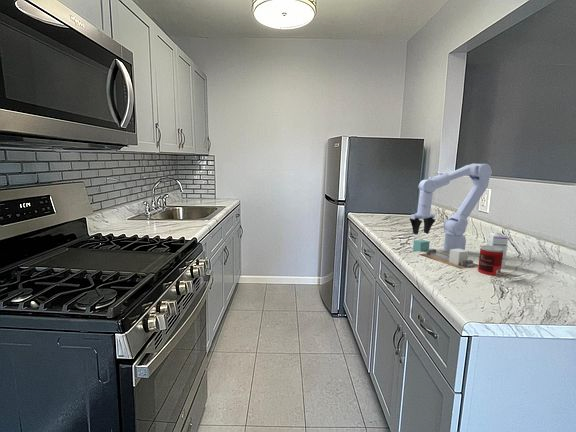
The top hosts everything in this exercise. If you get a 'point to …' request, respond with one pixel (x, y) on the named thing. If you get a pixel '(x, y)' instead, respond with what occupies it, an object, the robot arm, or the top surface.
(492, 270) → the canned food
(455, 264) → the mounting board
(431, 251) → the steel rail
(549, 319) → the top surface
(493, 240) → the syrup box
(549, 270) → the top surface
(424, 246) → the teal module
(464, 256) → the grey module
